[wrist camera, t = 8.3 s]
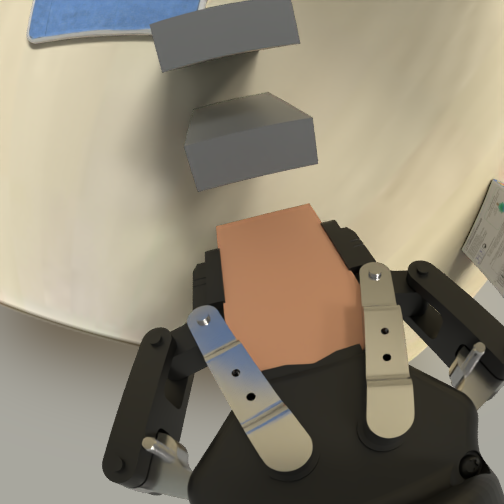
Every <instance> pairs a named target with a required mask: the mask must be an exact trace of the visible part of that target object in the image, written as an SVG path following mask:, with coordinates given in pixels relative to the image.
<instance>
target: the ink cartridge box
mask: <svg viewBox="0 0 504 504" xmlns="http://www.w3.org/2000/svg"><path fill="white" fill-rule="evenodd" d="M462 251H463V252H464V253H465V254H466V255H467V257H468V258H469V259H470V260H471V261H472V262H473V263H474V264H475V265H476V266H477V267H478V268H479V269H480V271H481V272H482V273H483V274H484V275H485V276H486V277H487V279H488V280H489V281H490V282H491V283H492V284H493V285H494V286H495V288H496V289H497V290H498V291H499V293H500V294H501V295H502V296H503V298H504V184H503V183H501V182H499V181H497V180H495V179H493V180H492V182H491V185H490V188H489V190H488V193H487V195H486V198H485V200H484V203H483V205H482V207H481V210H480V212H479V214H478V217H477V219H476V221H475V223H474V225H473V227H472V230H471V232H470V234H469V236H468V238H467V240H466V242H465V244H464V246H463V248H462Z"/></svg>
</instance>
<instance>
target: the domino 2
mask: <svg viewBox="0 0 504 504" xmlns="http://www.w3.org/2000/svg"><path fill="white" fill-rule="evenodd" d="M184 149H185V152H186V155H187V159H188V162H189V165H190V168H191V171H192V175H193V178H194V181H195V184H196V187H197V190H198V192H200V191H203V190H207V189H211V188H215V187H219V186H222V185H226V184H230V183H234V182H238V181H242V180H247V179H251V178H255V177H259V176H263V175H268V174H272V173H277V172H281V171H286V170H290V169H295V168H300V167H305V166H310V165H315V164H318V157H317V149H316V141H315V133H314V125H313V118H312V117H311V116H309V115H308V114H306V113H304V112H303V111H301V110H299V109H297V108H296V107H294V106H292V105H290V104H289V103H287V102H285V101H283V100H282V99H280V98H278V97H276V96H274V95H272V94H271V93H269V92H266V93H261V94H256V95H251V96H246V97H241V98H237V99H232V100H228V101H224V102H220V103H216V104H212V105H208V106H204V107H200V108H197V109H193V113H192V116H191V120H190V124H189V128H188V132H187V135H186V139H185V143H184Z"/></svg>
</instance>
